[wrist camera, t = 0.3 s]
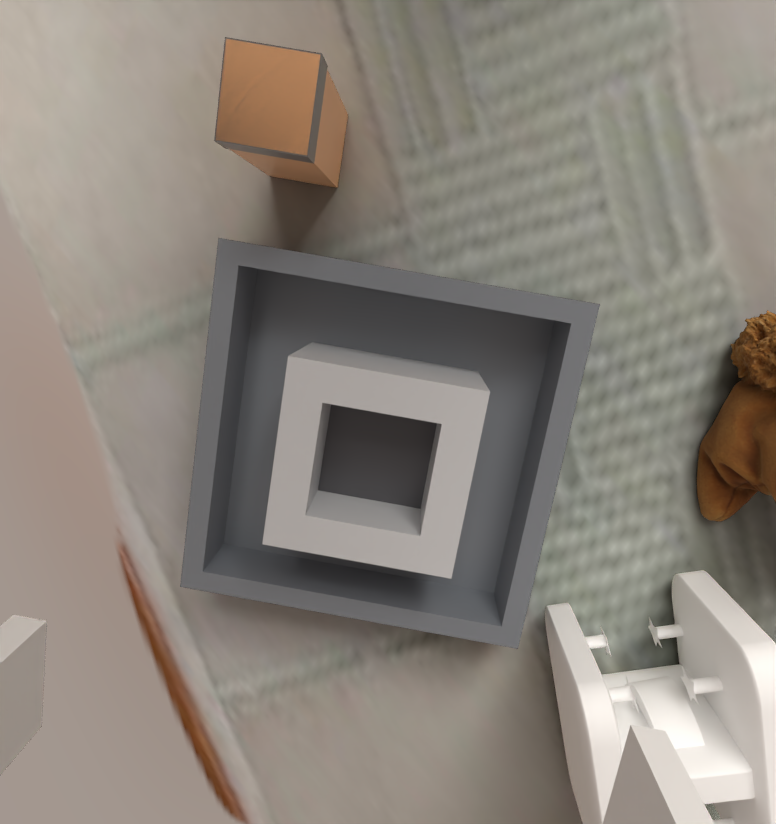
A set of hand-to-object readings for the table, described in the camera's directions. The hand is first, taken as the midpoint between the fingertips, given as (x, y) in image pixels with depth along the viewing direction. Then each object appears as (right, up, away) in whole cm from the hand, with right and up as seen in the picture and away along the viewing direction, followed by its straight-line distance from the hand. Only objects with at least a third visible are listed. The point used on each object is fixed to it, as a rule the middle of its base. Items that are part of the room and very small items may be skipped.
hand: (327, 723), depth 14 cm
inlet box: (+1, +6, +26) cm, 26 cm away
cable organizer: (+18, -10, +28) cm, 35 cm away
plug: (-3, +22, +23) cm, 32 cm away
